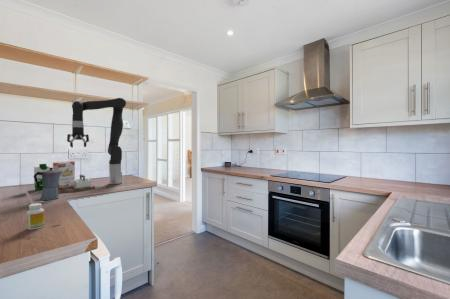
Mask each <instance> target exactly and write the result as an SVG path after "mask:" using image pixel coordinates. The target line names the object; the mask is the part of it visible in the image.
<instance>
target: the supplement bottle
mask: <svg viewBox="0 0 450 299" xmlns="http://www.w3.org/2000/svg"><path fill="white" fill-rule="evenodd" d="M28 209H29V210H27V212H26V226H27V227H26V228H27V230H31V231H32V230H38V229H41V228H44V227H45V209H44V208H42V203H40V202H39V203H31V204H29V205H28Z"/></svg>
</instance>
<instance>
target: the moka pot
mask: <svg viewBox="0 0 450 299" xmlns="http://www.w3.org/2000/svg"><path fill="white" fill-rule="evenodd" d="M61 173H62V172H61V171H54V170H53V167H50V170H49V171H44V172H37V173H36V174H35V175H34V174H33V180H34V179H35V182H36V185H37V187H42V185H41V186H40V185H39V184H38V180H37V177H36V176H37V175H42V181H43V190H41V195H40V200H41V201H53V200H54V201H55V200H58V199H59V198H60V196H59V194H58V187H57V186H58V182H59V177H60V175H61Z"/></svg>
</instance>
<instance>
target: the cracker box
mask: <svg viewBox="0 0 450 299" xmlns="http://www.w3.org/2000/svg"><path fill="white" fill-rule="evenodd" d="M75 163H76V161H74V160H71V161H69V160H68V161H58V162H56V161H55V162H52V168H53V169H52V170H54V171H61V172H62V173H61V175H60V177H59V188H60V187H69V186H74V180H76V179H75V178H76V177H75V176H76V175H75V174H76V168H75V166H76V165H75Z"/></svg>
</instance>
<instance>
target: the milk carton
mask: <svg viewBox="0 0 450 299" xmlns="http://www.w3.org/2000/svg"><path fill="white" fill-rule="evenodd" d="M38 165H39V166H33V170H34V171H33V172H34V173H33V176H34V175H35V174H36V173H37V172H44V171H49V170H50V168H51V166H50V165H47V163H40V164H38ZM36 177H37V180H38V184H39V185H40V186H41V185H42V187H37V185H36V182H35V179H34V178H33V180H34V190H35V191H42V190H43V181H42V175H37V176H36Z"/></svg>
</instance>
